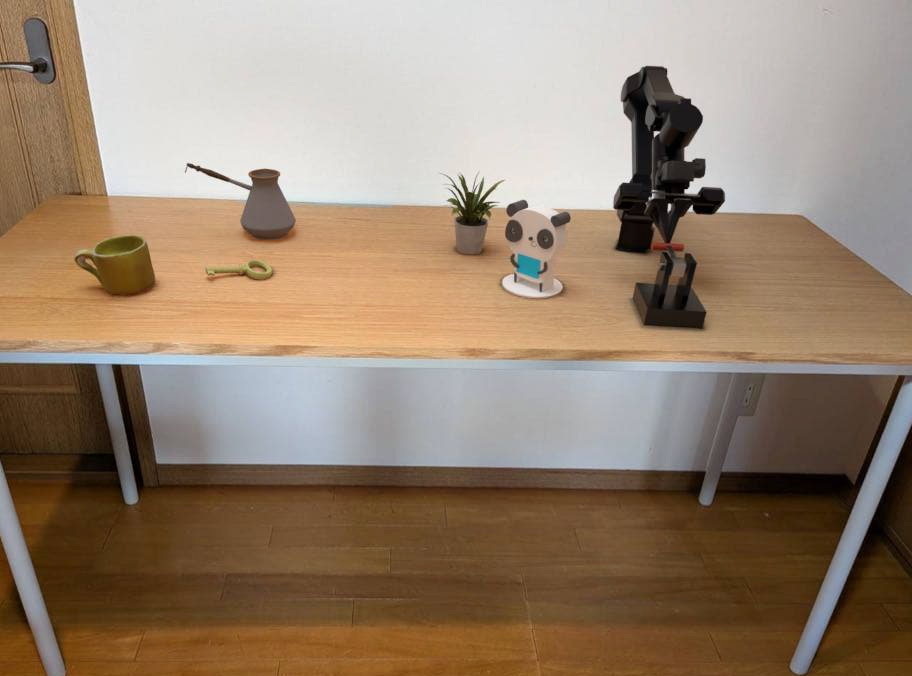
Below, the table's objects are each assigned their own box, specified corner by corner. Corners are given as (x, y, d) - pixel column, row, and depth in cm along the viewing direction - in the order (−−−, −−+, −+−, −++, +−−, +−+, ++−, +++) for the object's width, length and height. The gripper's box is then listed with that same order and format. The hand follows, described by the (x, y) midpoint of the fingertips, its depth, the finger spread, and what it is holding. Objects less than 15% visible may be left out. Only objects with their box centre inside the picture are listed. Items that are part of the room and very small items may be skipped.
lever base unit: (632, 300, 137) (643, 243, 132) (686, 303, 137) (700, 247, 131) (643, 326, 128) (656, 267, 122) (701, 330, 128) (717, 271, 122)
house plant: (418, 254, 152) (420, 174, 143) (442, 233, 163) (446, 157, 154) (484, 267, 148) (491, 185, 139) (505, 244, 159) (512, 167, 150)
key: (202, 278, 138) (201, 267, 137) (261, 263, 145) (260, 253, 144) (221, 291, 134) (220, 280, 133) (280, 275, 141) (280, 265, 140)
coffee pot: (296, 224, 164) (291, 154, 156) (296, 243, 155) (292, 170, 147) (196, 226, 161) (186, 155, 153) (190, 245, 152) (180, 171, 144)
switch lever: (649, 250, 135) (652, 238, 134) (680, 252, 135) (683, 240, 134) (660, 276, 127) (663, 263, 126) (693, 278, 127) (696, 265, 126)
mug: (170, 264, 138) (145, 220, 130) (157, 302, 132) (130, 258, 124) (108, 272, 140) (80, 230, 132) (93, 310, 133) (63, 268, 126)
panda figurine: (487, 283, 141) (494, 205, 133) (523, 268, 148) (531, 193, 140) (538, 303, 134) (549, 223, 126) (574, 286, 141) (586, 209, 133)
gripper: (628, 136, 129) (627, 220, 126) (736, 142, 129) (738, 226, 126) (613, 169, 140) (611, 246, 137) (713, 174, 140) (714, 252, 137)
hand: (668, 242), depth 134 cm, fingers closed, pressing on switch lever
